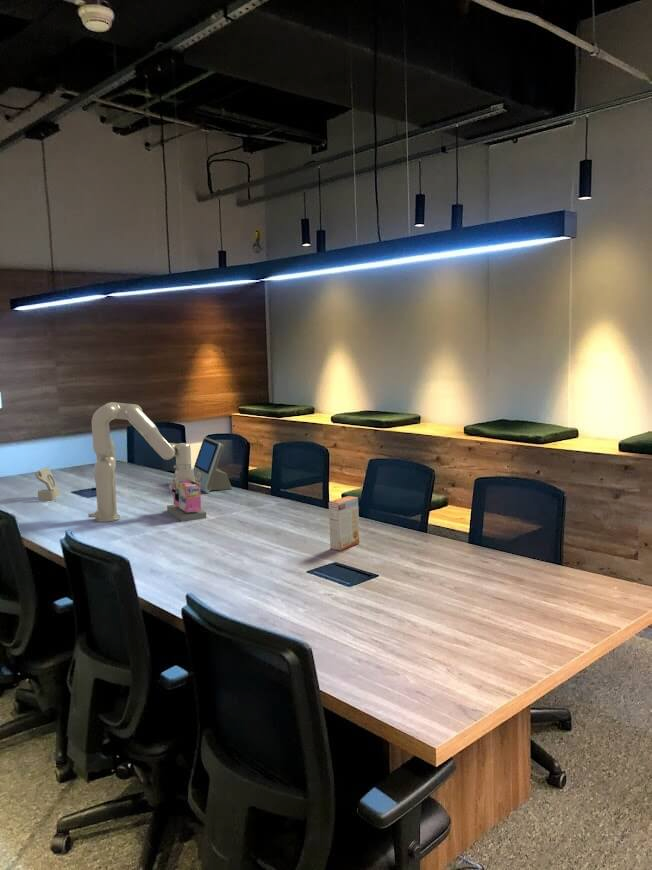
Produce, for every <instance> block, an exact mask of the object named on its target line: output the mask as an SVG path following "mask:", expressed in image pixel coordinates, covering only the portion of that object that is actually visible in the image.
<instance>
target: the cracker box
mask: <svg viewBox="0 0 652 870" xmlns="http://www.w3.org/2000/svg"><path fill="white" fill-rule="evenodd" d="M328 516H329V518H328V521H329V523H328V524H329V541H330V542H329V545H330V550H335V551H338V552H339V551H341V552H342V551H343V550H346V549H348V548H350V547H353V546H356V545H359V544H360V520H359V519H360V518H359V517H360V516H359V497H357V496H352V495H347V496H344V497H341V498H338V499H334V500H332V501H329V502H328Z"/></svg>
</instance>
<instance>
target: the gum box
mask: <svg viewBox="0 0 652 870" xmlns="http://www.w3.org/2000/svg"><path fill="white" fill-rule="evenodd" d="M174 479H175V478H173V479H172V483H173V482H174ZM173 489H174V490H175V489H176V488H175V485H174V486H173ZM172 492H173V491H172ZM172 494H173V505H174V504H175V505H176V506H178V507H179V508H181V509H182V510H184V511H185V512H195V511H201V509H202V500H201V498H202V497H201V496H202V495H201V489H200V485H199V484H198V483H195V482H193V484H192V483H184V484H181V483H179V489H178V496H179V501H176V500H175V493H174V492H173V493H172Z"/></svg>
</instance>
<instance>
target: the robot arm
mask: <svg viewBox="0 0 652 870" xmlns="http://www.w3.org/2000/svg"><path fill="white" fill-rule="evenodd" d="M112 420H125V421H126V420H127V421H128V422H129V424H130V425H132V427H133V428H134V429H135V430H136V431H137V432H138V433H139V434H140V435H141V436H142V437H143V439H145V441H146V442H147V443H148V444H149V446H150V447H151V448H152V449H153V450H154V451H155V452H156V453H157V454H158V455H159V457H160V458H162V459H163V460H166V461H168V460H171V459H174V457H175V460H176V461H175V465H173V468H174V469H175V471H174V478H173V479H174V482H173V481H172V483H171V484H170V485H168V488H169V489H170V491H171V492H174V493H175V500H176V501H179V496H178V489H179V483H181V484H184V483H192V484H193V482H195V483H198V484H199V485H200V483H199V482H197V481H196V480H195V477H194V471H193V469H194V468H192V452H191V444H190V443H187V442H180V443H173V442H168V441H167V440H166V439H165V437H164V436H163V435H162V434H161V433H160V430H159V429H158V427H157V425H156V423H154V422H153V421H152V420H151V419H150V418H149V416H147V415H146V413H144V412H143V409H142V407H141V406H140V405H139V404H134V403H123V402H114V401H111V402H106V403H105V404H103V405H102V406H101V407H99V408H98V409H97V410H96V411H94V413H93V416H92V418H91V433H92V448H93V452H94V453H95V454H96V463H95V464H94V466H93V467H94V468H93V473H94V482H95V493H96V507H97V510H96V511H95V512H93V513H88V514H87V515H88V518H94V520H95V522H100V523H106V522H107V523H108V522H109V523H110V522H115V521H119V520H120V519H121V515H120V514H118V508H117V507H118V506H117V504H118V503H117V491H116V480H115V479H116V478H115V470H116V467H117V460H116V450H115V449H116V448H115V442H114V440H113V439H112V438H111V433H110V432H111V431H110V429H111V428H110V422H111V421H112ZM174 485H175V488H176V489H175V490H174V489H173V486H174Z"/></svg>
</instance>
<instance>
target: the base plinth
mask: <svg viewBox="0 0 652 870" xmlns="http://www.w3.org/2000/svg"><path fill="white" fill-rule="evenodd" d="M166 508H167V510H166V511H167V512H168V513H170V514H171V515H172V516H174V517H175V518H177V519H178V520H179V521H181V522H187V521H193V520H194V521H195V520H200V519H202V520H203V519H207V511H205V510H204V509H202V508H201V511H195V512H185V511H184V510H182V509H181V508H179V507H178V506H176V505H175V504H174V503H173V504H167V505H166Z"/></svg>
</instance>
